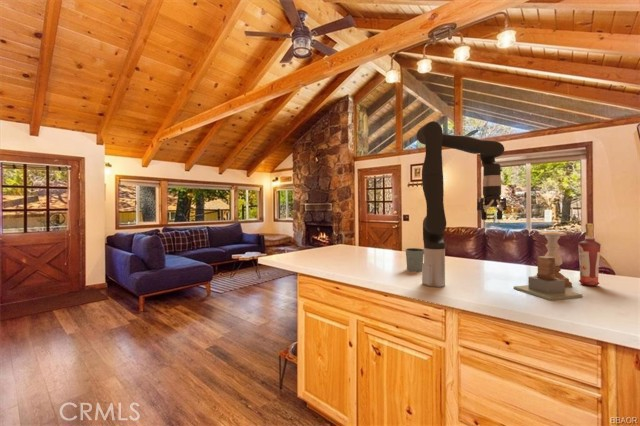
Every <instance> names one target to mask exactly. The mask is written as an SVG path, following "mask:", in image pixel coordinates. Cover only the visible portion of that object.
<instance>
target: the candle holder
mask: <svg viewBox="0 0 640 426" xmlns="http://www.w3.org/2000/svg"><path fill="white" fill-rule="evenodd" d="M538 234H539V235H543V236H544V237H545V238H546V240H547V243H546V244H545V247H546V249H547V252H546V253H545V254H544V256H548V257H554V258H555V278H559V279H562V280H565V288H568V287H569V288H572V287H573V283H572V281H570V279H569V278H568V277H566V276H565V275H563V274H562V273H560V272H561V270H562V268H561V267H560V266H561V265H562V264H563V258H562V257H561V256H560V254H559V252H558V250H559V248H560V247H561V246H560V245H559V243H558V242H559V241H558V240H559V239H561V238H560V237H563V236H567V235H568V233H567V232H565V231H564V232H563V231H549V230H547V231H539V232H538ZM535 276H538V272H536V275H535Z"/></svg>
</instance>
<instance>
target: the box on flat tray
mask: <svg viewBox="0 0 640 426" xmlns="http://www.w3.org/2000/svg"><path fill="white" fill-rule="evenodd" d="M513 289H514V290H516V289H517V291H519V290H520V292H522V291H523V292H522V293H525V292H526V294H528V293H529V295H532V296H535V297H539V298H542V299H544V300H548V301H557V300H567V299H568V300H569V299H577V298H583V294H581V293H579V292H575V291H571V290H567V289H566V287H565V280H562V279H559V278H555V280H549V281H547V280H543V279H539V278H538V276H536V275H534V276H533V275H532V276H528V284H527V285H516V286H513Z"/></svg>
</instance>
